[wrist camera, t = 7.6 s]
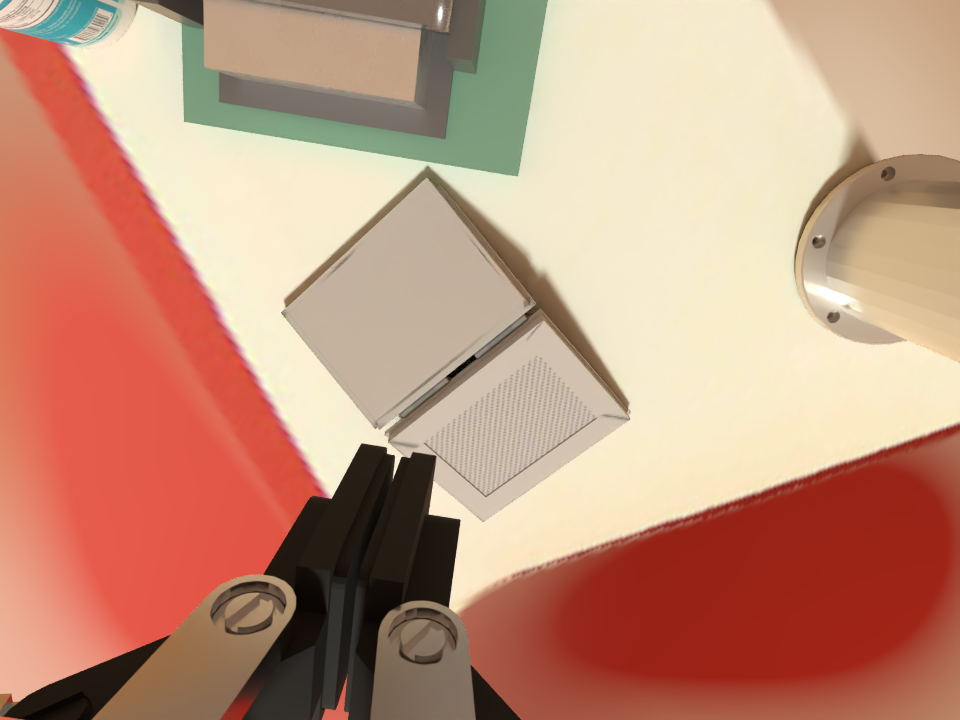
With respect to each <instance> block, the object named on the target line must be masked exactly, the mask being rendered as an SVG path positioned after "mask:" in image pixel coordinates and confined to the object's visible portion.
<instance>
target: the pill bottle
mask: <svg viewBox="0 0 960 720" xmlns="http://www.w3.org/2000/svg"><path fill="white" fill-rule="evenodd" d="M136 4H137V3H135V2H132V1H130V0H0V28H4V29H7V30H11V31H15V32H19V33H23V34H26V35H30V36H34V37H38V38H41V39H45V40H49V41H53V42H56V43H60V44H64V45H69V46H72V47H76V48H81V49H99V48H104V47H107V46H110V45H112V44H114V43H115V42H117V41H118V40H119V39H120V38H122V37H123V36H124V34H125V33H126V32H127V30H128V29H129V27H130V25H131V23H132V21H133V19H134V15H135V11H136Z"/></svg>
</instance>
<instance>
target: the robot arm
mask: <svg viewBox="0 0 960 720" xmlns="http://www.w3.org/2000/svg"><path fill="white" fill-rule="evenodd" d="M882 172H883V174H882V176H881V173H882ZM814 238H815V242H814V243H813V244H812V241H813V239H814ZM795 278H796V282H797V287H798V292H799V295H800V297H801V299H802V301H803V304H804V306H805V308H806V309H807V310H808V312H809V313H810V314H811V315H812V317H813V318H814V319H815V320H816V321H817V322H818V323H819V324H821V325H822V326H823V327H824V328H826V329H827V330H829V331H831V332H833V333H835V334H836V335H838V336H840V337H843V338H846V339H848V340H851V341H854V342H858V343H864V344H870V345H883V344H894V343H899V342H904V341H910V342H913V343H915V344H917V345H920V346H922V347H924V348H927V349H929V350H931V351H934V352H936V353H938V354H941V355H943V356H945V357H948V358H950V359H952V360H955V361H957V362H959V363H960V162H959V161H958V160H954V159H950V158H947V157H943V156H938V155H923V154H919V155H903V156H898V157H893V158H889V159H884V160H881V161H879V162H876V163H874V164H871V165H869V166H867V167H864V168H862V169H861V170H859V171H857V172H856V173H854V174H853V175H851V176H849V177H848V178H846V179H845V180H844V181H842V182H841V183H840V184H839V185H838V186H837V187H835V188H834V189H833V190H832V191H831V192H830V193H829V194H828V195H827V196H826V197H825V198H824V200H823V201H822V202H821V203H820V204H819V206H818V207H817V208H816V209H815V211H814V213H813V214H812V216H811V218H810V219H809V221H808V223H807V224H806V226H805V229H804V231H803V234H802V237H801V239H800V242H799V245H798V250H797V255H796V266H795ZM828 314H829V315H828ZM827 315H828V316H827ZM436 458H437V456H436V455H430V454H424V453H418V452H412V454H411V457H410V458H408V457H401V460H400V463H399V465H398V468H397V471H396V473H395V476H394V479H393V471H394V463H395V455H389V454H387V448H386V447H381V446H374V445H368V444H361V445H360V447H359V449H358V451H357V453H356V455H355V456H354V458H353V460H352V462H351V464H350V466H349V468H348V470H347V471H346V473H345V475H344V477H343V479H342V481H341V483H340V484H339V486H338V488H337V490H336V492H335V494H334V496H333V498H332V499H329V498H323V497H317V496H312V497H311V498H310V499H309V500H308V501H307V503H306V505H305V506H304V508H303V510H302V511H301V513H300V515H299V516H298V518H297V520H296V521H295V523H294V525H293V526H292V528H291V530H290V531H289V533H288V535H287V536H286V538H285V540H284V541H283V543H282V545H281V546H280V548H279V550H278V551H277V553H276V555H275V556H274V558H273V559H272V561H271V563H270V564H269V566H268V568H267V569H266V571H265V573H264V574H263V575H261V574H260V575H247V576H243V577H239V578H235V579H232V580H230V581H229V582H226V583H224V584H222V585H220V586H219V587H218V588H216V589H215V590H214V591H213V592H211V593H210V594H209V595H208V596H207V597H206V598H205V599H204V601H202V603H201V604H200V605H199V606H198V607H197V608H196V609H195V610H194V611H193V612H192V613H191V614H190V615H189V616H188V618H187V619H186V620H185V621H184V622H183V623H182V624H181V625H180V626H179V627H178V628H177V629H176V630H175V631H174V632H173V633H172V635H169V636H167V637H164V638H162V639H159V640H157V641H155V642H152V643H150V644H147V645H145V646H142V647H140V648H137V649H135V650H133V651H130V652H128V653H125V654H123V655H120V656H118V657H115V658H113V659H111V660H108V661H106V662H103V663H101V664H99V665H96V666H94V667H91V668H88V669H86V670H84V671H81V672H79V673H76V674H74V675H71V676H69V677H66V678H64V679H62V680H59V681H57V682H54V683H52V684H49V685H47V686H45V687H43V688H41V689H39V690H37V691H35V692H33V693H31V694H30V695H28V696H26V697H25V698H24V699H22V700H21V701H20V702H13V700H12V694H0V720H322V717H323V714H324V711H325V709H332V710H335V709H336V707H337V705H338V702H339V699H340V695H341V693H342V690H343V686H344V683H345V680H346V677H347V686H346V697H345V707H344V711H345V712H349V717H348V720H521V719H520V718H519V717H518V716H517V715H516V714H515V713H514V712H513V711H512V709H511V708H510V707H509V706H508V705H507V704H506V703H505V702H504V701H503V700H502V698H501V697H500V696H499V695H498V694H497V693H496V692H495V691H494V690H493V689H492V688H491V687H490V685H489V684H488V683H487V682H486V681H485V680H484V679H483V678H482V677H481V676H480V674H479V673H478V672H477V671H476V670H475V669H474V668H473V667H472V666H471V665H470V655H469V644H468V635H467V632H466V628H465V625H464V623H463V622H462V621H461V619H460V618H459V616H458V615H457V614H455V613H454V612H453V611H452V610H450V609H449V601H450V594H451V587H452V579H453V572H454V565H455V557H456V550H457V543H458V535H459V528H460V520H459V519H453V518H447V517H441V516H434V515H428V514H429V507H430V500H431V493H432V486H433V479H434V473H435V466H436ZM392 480H393V481H392ZM347 674H348V676H347Z"/></svg>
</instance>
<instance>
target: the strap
mask: <svg viewBox="0 0 960 720" xmlns="http://www.w3.org/2000/svg"><path fill="white" fill-rule="evenodd" d="M255 1H261V2H267V3H273V4H279V5H285V6H291V7H297V8H303V9H309V10H315V11H321V12H326V13H332V14H338V15H344V16H350V17H356V18H362V19H368V20H374V21H380V22H386V23H392V24H398V25H404V26H410V27H415V28H421V29H427V30H428V31H430V32H432V33H436V34H442V35H449V34H450V28H451V19H452V11H453V2H454V0H255Z"/></svg>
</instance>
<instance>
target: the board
mask: <svg viewBox="0 0 960 720" xmlns="http://www.w3.org/2000/svg"><path fill="white" fill-rule="evenodd" d="M130 1H132V2H135V3H137V4H139V5H141V6H144V7H146V8H148V9H150V10H153V11H155V12H157V13H159V14H162V15H164V16H166V17H168V18H170V19H173V20H175V21H177V22H179V23H182V53H183V95H184V122H190V123H196V124H202V125H208V126H214V127H220V128H226V129H232V130H238V131H244V132H250V133H257V134H263V135H269V136H275V137H281V138H287V139H293V140H299V141H305V142H311V143H317V144H324V145H330V146H336V147H342V148H348V149H354V150H360V151H366V152H372V153H378V154H384V155H391V156H397V157H403V158H409V159H415V160H421V161H427V162H433V163H439V164H445V165H451V166H458V167H464V168H470V169H476V170H482V171H488V172H494V173H500V174H506V175H512V176H518V173H519V167H520V161H521V155H522V149H523V143H524V137H525V131H526V125H527V120H528V114H529V108H530V102H531V96H532V90H533V84H534V78H535V72H536V66H537V60H538V54H539V48H540V43H541V37H542V31H543V25H544V19H545V13H546V7H547V1H548V0H454V2H453V11H452V19H451V28H450V34H449V35H442V34H436V33H432V32H430V31H428V30H427V29H421V28H415V27H410V26H404V25H398V24H392V23H386V22H380V21H374V20H368V19H362V18H356V17H350V16H344V15H338V14H332V13H326V12H321V11H315V10H309V9H303V8H297V7H291V6H285V5H279V4H273V3H267V2H261V1H255V0H130Z"/></svg>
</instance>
